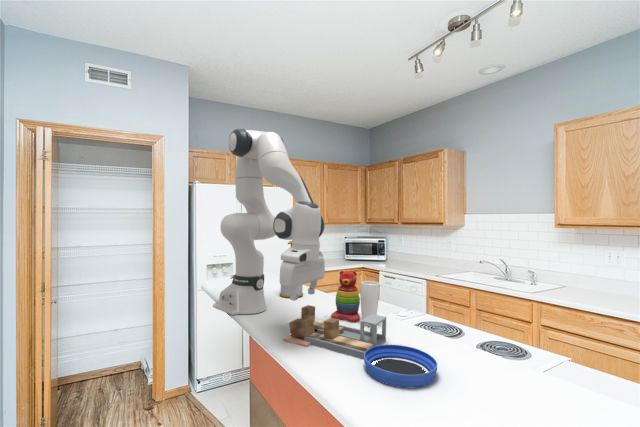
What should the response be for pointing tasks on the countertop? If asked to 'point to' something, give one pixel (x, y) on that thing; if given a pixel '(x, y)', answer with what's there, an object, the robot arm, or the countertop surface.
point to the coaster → (299, 340)
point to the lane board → (355, 336)
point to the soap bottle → (285, 290)
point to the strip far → (310, 313)
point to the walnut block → (301, 327)
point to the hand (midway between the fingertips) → (302, 296)
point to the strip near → (333, 336)
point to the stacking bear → (347, 298)
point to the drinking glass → (369, 298)
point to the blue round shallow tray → (400, 365)
